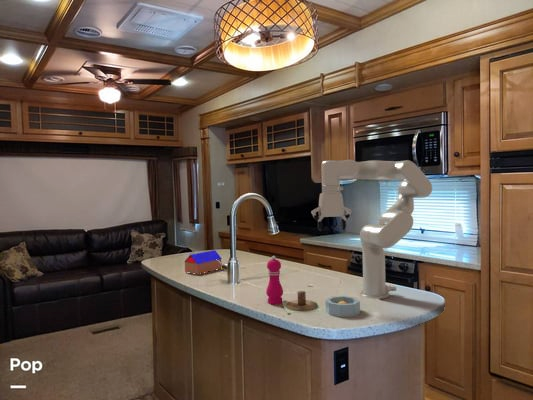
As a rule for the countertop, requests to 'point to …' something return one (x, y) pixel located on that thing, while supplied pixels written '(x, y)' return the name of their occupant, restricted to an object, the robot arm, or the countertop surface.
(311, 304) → the lid
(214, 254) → the house
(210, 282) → the countertop surface
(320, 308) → the mat
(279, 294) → the pepper mill
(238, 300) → the countertop surface
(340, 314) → the bowl
